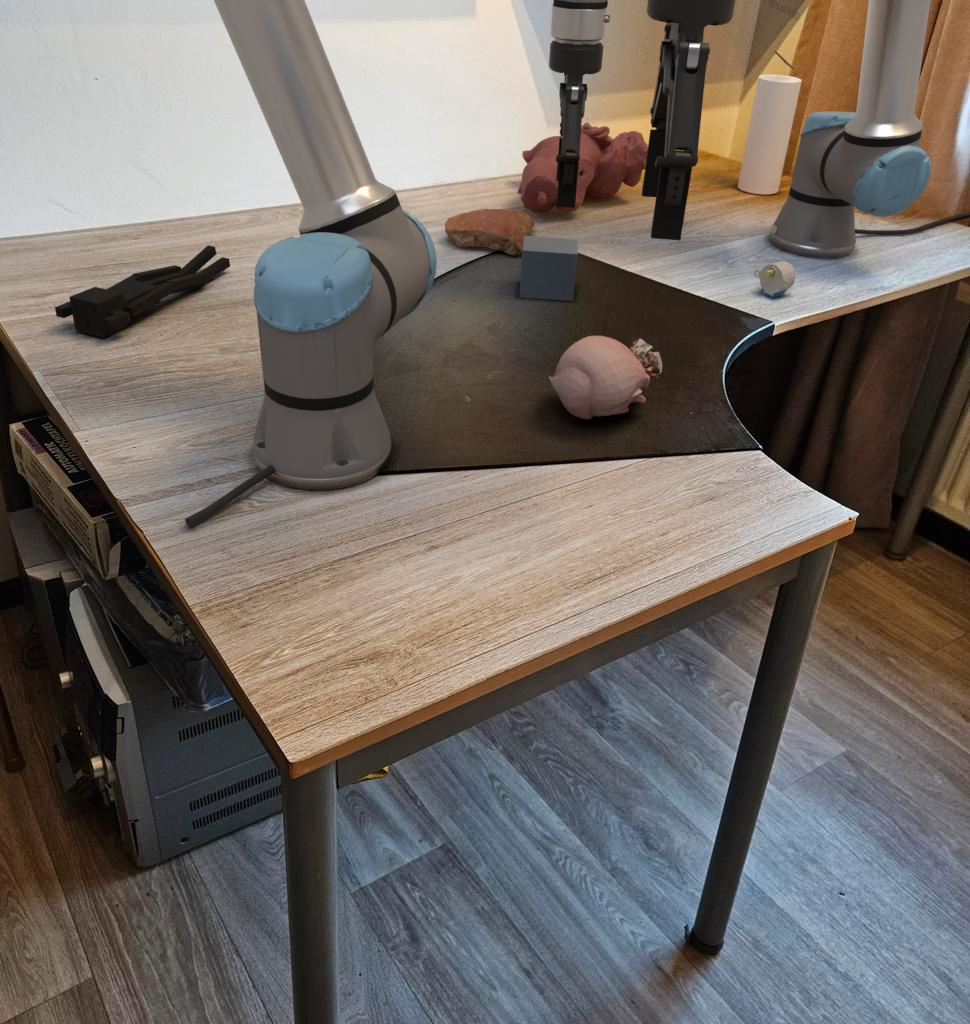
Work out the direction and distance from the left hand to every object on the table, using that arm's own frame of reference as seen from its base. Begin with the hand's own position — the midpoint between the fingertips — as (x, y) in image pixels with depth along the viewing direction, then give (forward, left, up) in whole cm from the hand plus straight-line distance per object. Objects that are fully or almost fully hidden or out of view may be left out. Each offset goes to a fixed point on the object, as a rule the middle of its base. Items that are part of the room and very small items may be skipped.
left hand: (659, 216), depth 95 cm
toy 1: (+17, +74, -28) cm, 81 cm away
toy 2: (+10, +6, -28) cm, 30 cm away
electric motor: (+60, -11, -28) cm, 67 cm away
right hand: (+50, +22, -13) cm, 56 cm away
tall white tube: (+123, -2, -28) cm, 126 cm away
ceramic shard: (+65, +39, -28) cm, 81 cm away
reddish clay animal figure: (+94, +30, -28) cm, 102 cm away
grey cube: (+46, +22, -28) cm, 58 cm away
